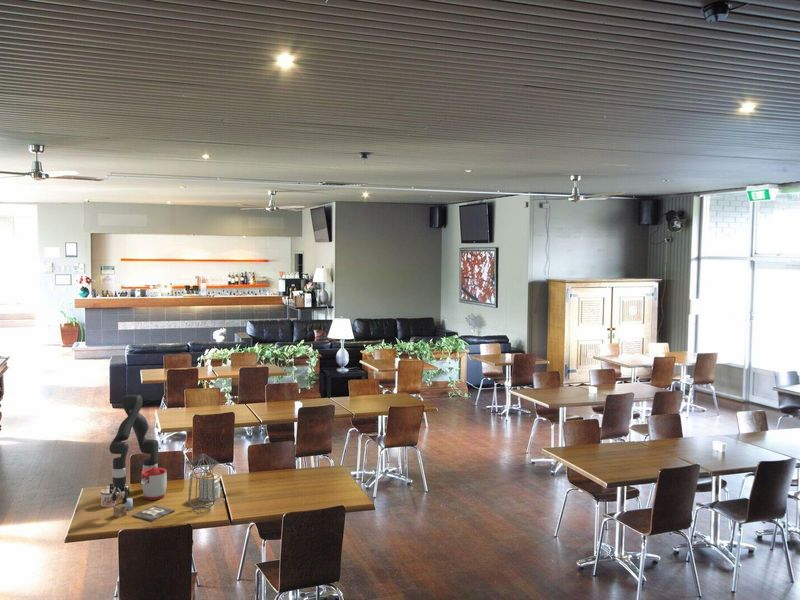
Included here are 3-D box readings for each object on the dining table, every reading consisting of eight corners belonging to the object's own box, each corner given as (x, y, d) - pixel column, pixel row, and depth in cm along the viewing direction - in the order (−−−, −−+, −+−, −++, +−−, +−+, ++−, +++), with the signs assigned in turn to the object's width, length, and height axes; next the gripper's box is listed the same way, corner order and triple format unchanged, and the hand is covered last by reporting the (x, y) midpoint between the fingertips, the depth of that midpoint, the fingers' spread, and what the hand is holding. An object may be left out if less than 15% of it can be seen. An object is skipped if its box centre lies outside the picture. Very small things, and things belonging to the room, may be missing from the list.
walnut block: (120, 513, 439) (120, 504, 439) (126, 515, 437) (126, 505, 436) (113, 516, 435) (113, 506, 434) (119, 518, 432) (119, 508, 432)
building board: (155, 506, 451) (155, 503, 451) (174, 511, 444) (174, 508, 444) (132, 516, 435) (132, 513, 435) (152, 521, 428) (152, 518, 428)
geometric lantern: (183, 509, 447) (184, 453, 445) (206, 504, 458) (207, 449, 456) (196, 516, 436) (197, 458, 434) (220, 510, 447) (220, 454, 445)
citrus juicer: (133, 499, 463) (133, 468, 461) (154, 491, 478) (154, 461, 476) (151, 504, 455) (151, 472, 454) (172, 495, 471) (172, 465, 469)
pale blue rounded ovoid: (128, 507, 450) (128, 497, 449) (134, 508, 447) (134, 499, 447) (122, 509, 445) (122, 500, 445) (128, 511, 443) (128, 501, 442)
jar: (214, 502, 460) (214, 475, 458) (195, 500, 462) (194, 473, 461) (223, 495, 473) (223, 469, 471) (204, 493, 475) (204, 467, 474)
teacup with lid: (101, 508, 446) (101, 490, 445) (99, 503, 454) (99, 485, 453) (122, 505, 452) (122, 487, 451) (120, 500, 460) (119, 482, 459)
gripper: (132, 475, 434) (133, 502, 435) (115, 471, 440) (116, 498, 441) (122, 478, 427) (123, 506, 428) (105, 474, 433) (105, 501, 435)
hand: (119, 501), depth 435 cm, fingers open, 8 cm apart
